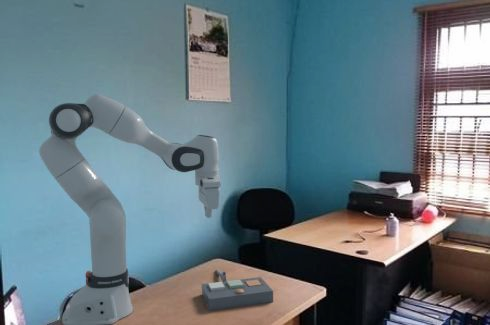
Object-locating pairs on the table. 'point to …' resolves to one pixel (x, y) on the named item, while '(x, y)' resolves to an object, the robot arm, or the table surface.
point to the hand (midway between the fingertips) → (208, 216)
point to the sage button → (235, 284)
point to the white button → (216, 286)
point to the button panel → (237, 295)
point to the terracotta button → (253, 283)
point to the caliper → (221, 275)
